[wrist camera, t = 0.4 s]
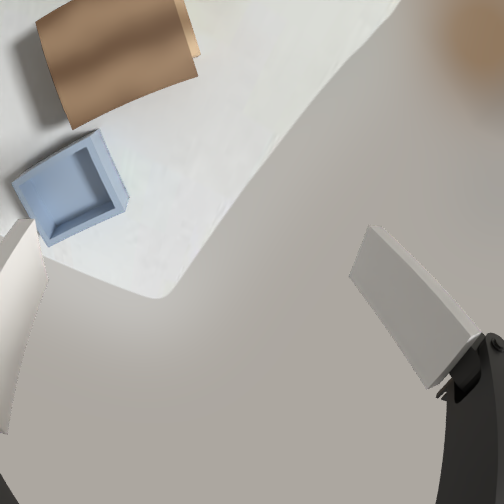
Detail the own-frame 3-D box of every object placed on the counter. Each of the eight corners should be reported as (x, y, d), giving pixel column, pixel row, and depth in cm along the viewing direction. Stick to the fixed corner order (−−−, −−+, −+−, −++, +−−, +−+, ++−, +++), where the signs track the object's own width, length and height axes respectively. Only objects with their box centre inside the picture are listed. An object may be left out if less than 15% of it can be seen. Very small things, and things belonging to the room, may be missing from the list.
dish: (25, 170, 27) (11, 183, 24) (99, 128, 28) (90, 136, 24) (57, 230, 33) (48, 247, 29) (129, 196, 33) (125, 211, 30)
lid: (45, 24, 16) (35, 22, 14) (162, -29, 17) (162, -37, 15) (80, 125, 24) (72, 130, 22) (196, 76, 24) (198, 76, 22)
